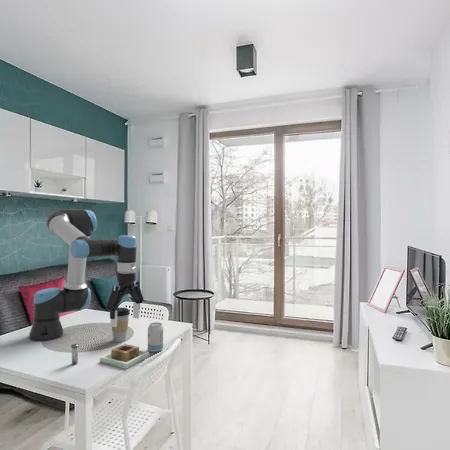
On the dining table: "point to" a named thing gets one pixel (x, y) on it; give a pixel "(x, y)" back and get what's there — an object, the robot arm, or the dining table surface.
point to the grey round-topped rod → (74, 354)
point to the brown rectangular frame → (125, 353)
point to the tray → (126, 365)
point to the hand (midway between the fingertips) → (125, 322)
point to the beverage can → (155, 337)
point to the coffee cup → (121, 325)
